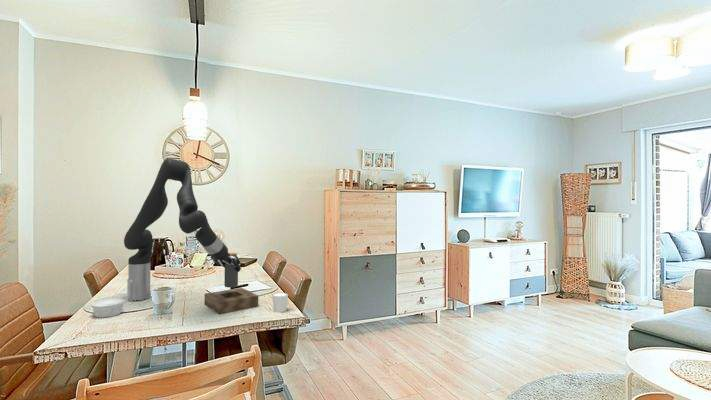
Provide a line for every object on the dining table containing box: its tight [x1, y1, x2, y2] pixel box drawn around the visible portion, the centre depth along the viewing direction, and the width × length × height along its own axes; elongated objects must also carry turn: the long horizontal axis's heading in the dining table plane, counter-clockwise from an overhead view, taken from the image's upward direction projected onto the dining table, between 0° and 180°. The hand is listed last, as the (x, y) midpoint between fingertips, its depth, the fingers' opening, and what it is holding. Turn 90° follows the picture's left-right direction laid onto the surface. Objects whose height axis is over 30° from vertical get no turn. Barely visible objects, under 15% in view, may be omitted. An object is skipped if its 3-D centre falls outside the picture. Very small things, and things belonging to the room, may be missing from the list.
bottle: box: [223, 252, 239, 288], centre depth 171 cm, size 6×6×15 cm
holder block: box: [203, 287, 259, 315], centre depth 171 cm, size 18×18×5 cm
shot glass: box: [272, 292, 289, 313], centre depth 165 cm, size 7×7×7 cm
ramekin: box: [91, 298, 125, 319], centre depth 157 cm, size 11×11×5 cm
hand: (234, 269), depth 173 cm, fingers closed on bottle, 5 cm apart
